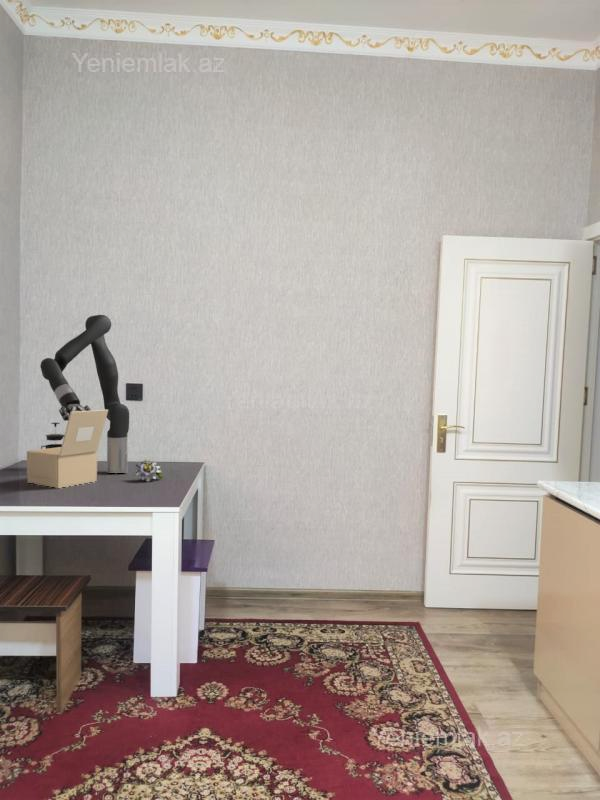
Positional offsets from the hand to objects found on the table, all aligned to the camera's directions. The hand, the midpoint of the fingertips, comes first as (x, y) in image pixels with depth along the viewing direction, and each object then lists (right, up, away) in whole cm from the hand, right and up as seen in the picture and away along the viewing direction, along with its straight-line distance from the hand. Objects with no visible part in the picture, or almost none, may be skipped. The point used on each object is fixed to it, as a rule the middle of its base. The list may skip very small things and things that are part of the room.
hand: (84, 426), depth 273 cm
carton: (-12, -25, +9) cm, 29 cm away
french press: (-29, -23, +43) cm, 57 cm away
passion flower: (+22, -25, +18) cm, 38 cm away
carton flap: (0, -2, 0) cm, 3 cm away
